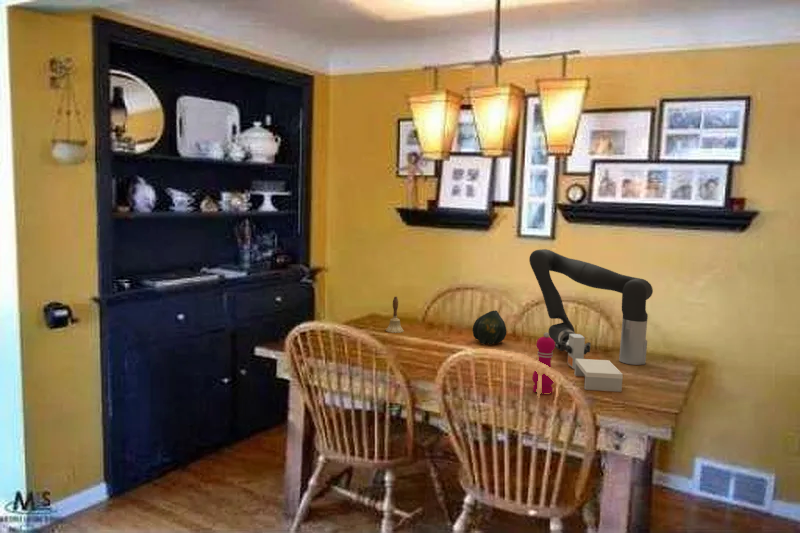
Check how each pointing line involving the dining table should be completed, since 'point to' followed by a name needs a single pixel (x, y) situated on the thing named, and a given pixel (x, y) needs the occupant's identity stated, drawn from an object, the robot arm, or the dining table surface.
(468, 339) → the dining table surface
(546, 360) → the pepper mill
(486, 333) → the squash
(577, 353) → the skincare box
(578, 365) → the shelf bench
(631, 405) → the dining table surface
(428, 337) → the dining table surface
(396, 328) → the hand bell
